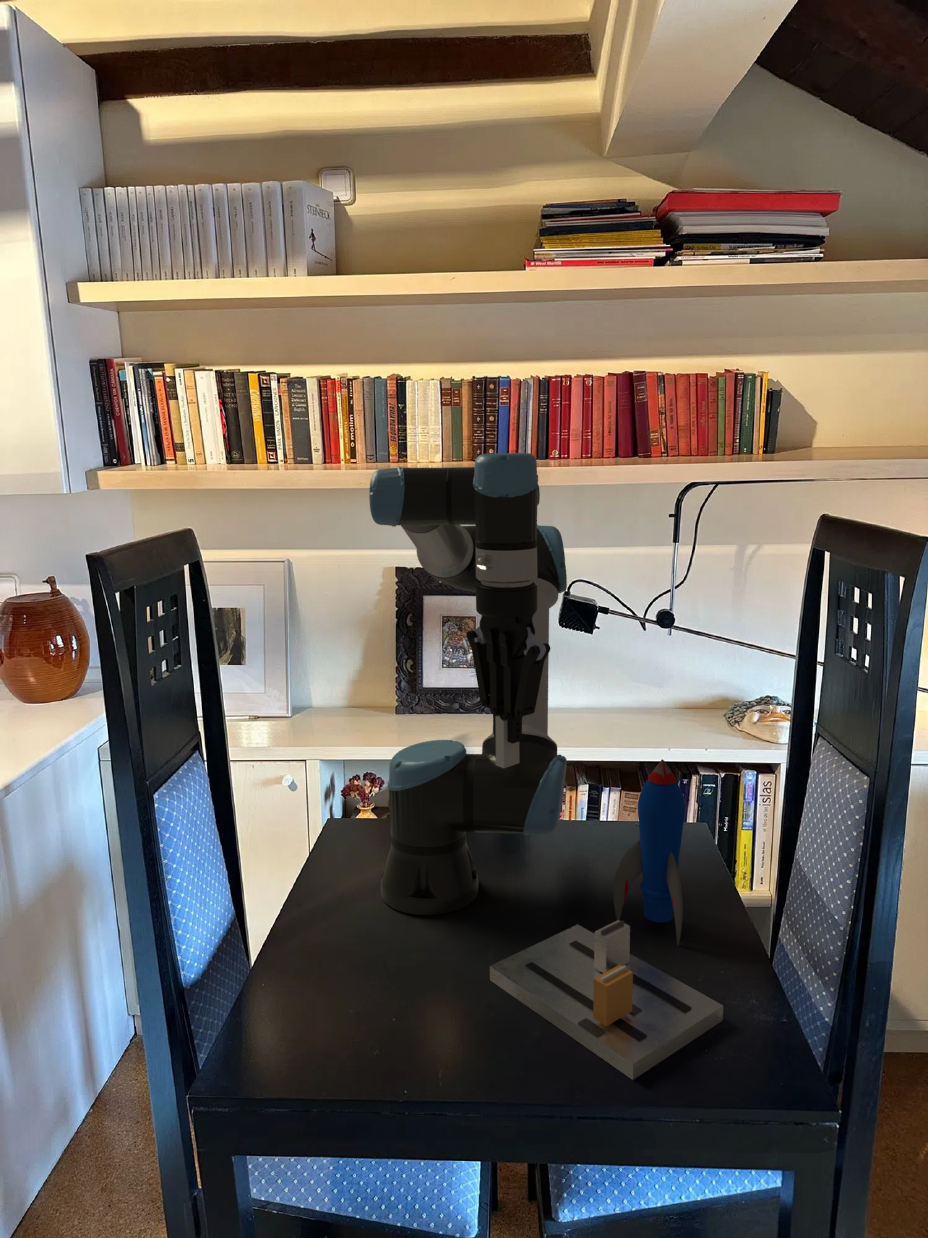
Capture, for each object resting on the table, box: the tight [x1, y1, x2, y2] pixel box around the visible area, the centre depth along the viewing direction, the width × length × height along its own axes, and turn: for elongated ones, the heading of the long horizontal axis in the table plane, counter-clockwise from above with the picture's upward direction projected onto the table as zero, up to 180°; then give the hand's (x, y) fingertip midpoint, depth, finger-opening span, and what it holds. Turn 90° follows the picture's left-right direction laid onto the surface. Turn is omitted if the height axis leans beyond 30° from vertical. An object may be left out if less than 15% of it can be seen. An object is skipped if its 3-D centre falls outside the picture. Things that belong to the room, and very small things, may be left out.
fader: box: [593, 965, 633, 1026], centre depth 102 cm, size 2×4×5 cm, turn 128°
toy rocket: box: [612, 759, 686, 946], centre depth 125 cm, size 11×10×25 cm
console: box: [489, 919, 724, 1081], centre depth 109 cm, size 24×16×8 cm, turn 38°
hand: (507, 764), depth 113 cm, fingers closed
